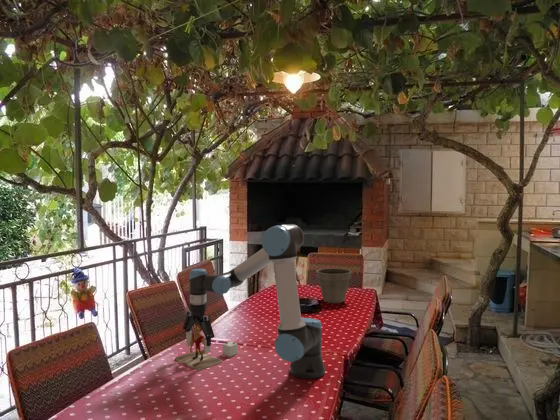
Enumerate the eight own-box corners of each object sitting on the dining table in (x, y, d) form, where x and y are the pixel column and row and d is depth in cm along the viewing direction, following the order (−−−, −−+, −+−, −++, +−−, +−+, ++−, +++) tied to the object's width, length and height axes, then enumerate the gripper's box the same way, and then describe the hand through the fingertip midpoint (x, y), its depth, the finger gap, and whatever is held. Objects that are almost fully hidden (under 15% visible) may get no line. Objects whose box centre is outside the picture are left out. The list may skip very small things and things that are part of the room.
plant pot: (311, 298, 325) (311, 268, 324) (341, 295, 332) (342, 267, 331) (324, 306, 301) (324, 274, 300) (357, 304, 308) (357, 273, 307)
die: (237, 354, 212) (237, 342, 212) (229, 356, 209) (229, 345, 208) (230, 351, 216) (230, 340, 216) (222, 354, 212) (222, 342, 212)
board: (221, 362, 202) (221, 359, 202) (198, 371, 192) (198, 368, 192) (197, 352, 214) (197, 350, 214) (174, 360, 204) (174, 357, 204)
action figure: (187, 358, 204) (186, 326, 203) (192, 355, 207) (191, 324, 206) (204, 362, 199) (202, 329, 198) (209, 359, 202) (207, 327, 201)
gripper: (175, 299, 207) (175, 344, 208) (208, 309, 191) (208, 358, 192) (188, 297, 213) (188, 340, 214) (222, 306, 196) (222, 353, 197)
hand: (198, 349), depth 203 cm, fingers open, 13 cm apart
